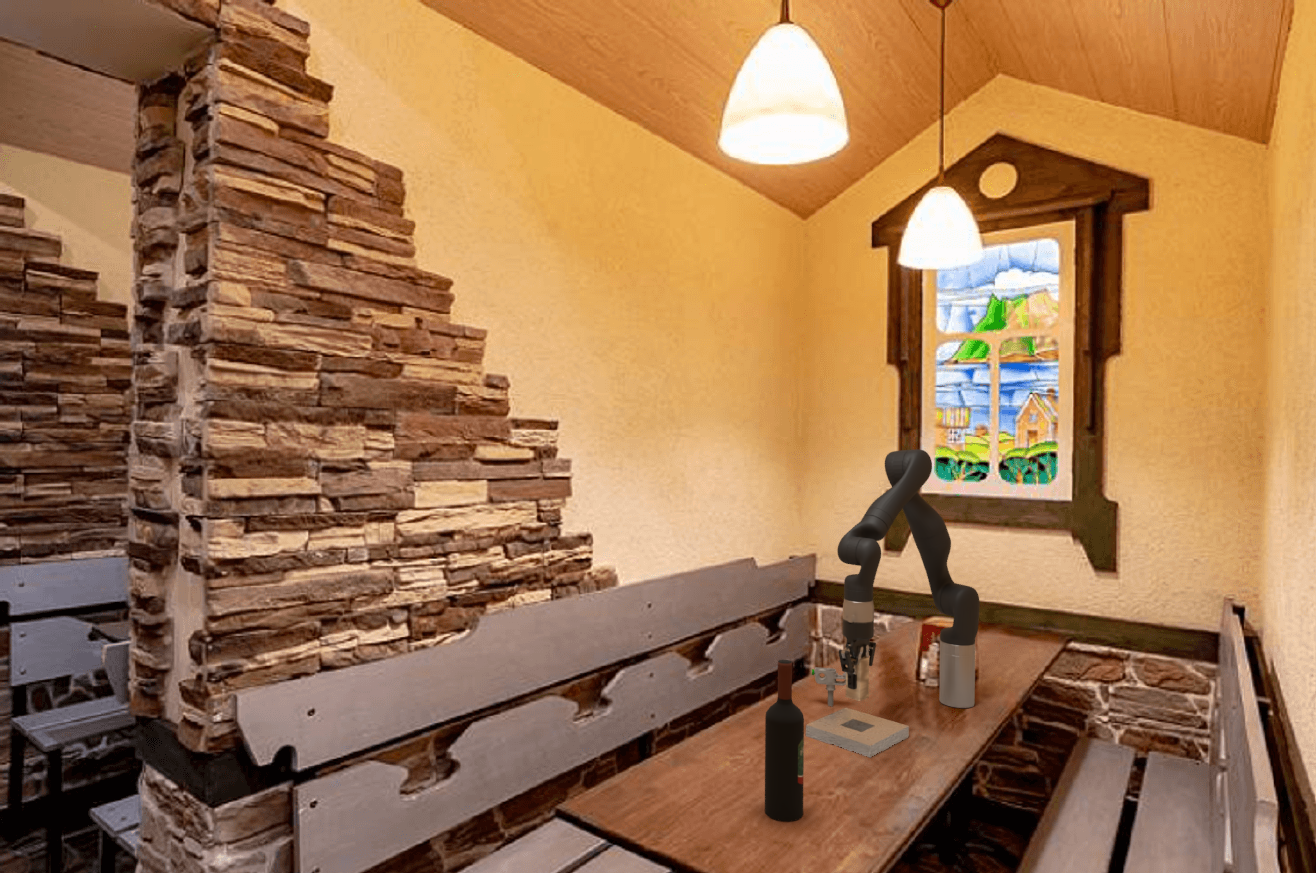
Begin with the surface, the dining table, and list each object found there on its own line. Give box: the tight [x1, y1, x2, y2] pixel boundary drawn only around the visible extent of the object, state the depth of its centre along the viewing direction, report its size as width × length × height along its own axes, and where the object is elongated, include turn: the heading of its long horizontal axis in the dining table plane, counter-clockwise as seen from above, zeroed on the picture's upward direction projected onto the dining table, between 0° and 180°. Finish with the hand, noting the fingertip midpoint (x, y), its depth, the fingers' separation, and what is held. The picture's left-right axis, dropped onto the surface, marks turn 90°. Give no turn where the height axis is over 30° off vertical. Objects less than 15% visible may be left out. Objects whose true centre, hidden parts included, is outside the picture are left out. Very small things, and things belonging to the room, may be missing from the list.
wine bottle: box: [764, 659, 805, 823], centre depth 157 cm, size 8×8×30 cm
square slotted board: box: [805, 707, 910, 759], centre depth 196 cm, size 18×18×3 cm
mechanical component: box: [811, 666, 846, 708], centre depth 218 cm, size 3×10×10 cm, turn 78°
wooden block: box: [845, 656, 870, 702], centre depth 196 cm, size 4×4×10 cm
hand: (857, 686), depth 196 cm, fingers closed on wooden block, 4 cm apart
